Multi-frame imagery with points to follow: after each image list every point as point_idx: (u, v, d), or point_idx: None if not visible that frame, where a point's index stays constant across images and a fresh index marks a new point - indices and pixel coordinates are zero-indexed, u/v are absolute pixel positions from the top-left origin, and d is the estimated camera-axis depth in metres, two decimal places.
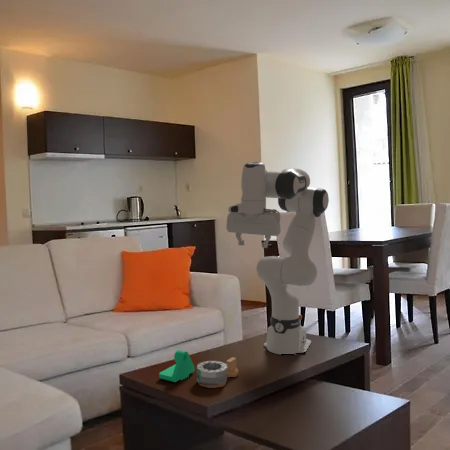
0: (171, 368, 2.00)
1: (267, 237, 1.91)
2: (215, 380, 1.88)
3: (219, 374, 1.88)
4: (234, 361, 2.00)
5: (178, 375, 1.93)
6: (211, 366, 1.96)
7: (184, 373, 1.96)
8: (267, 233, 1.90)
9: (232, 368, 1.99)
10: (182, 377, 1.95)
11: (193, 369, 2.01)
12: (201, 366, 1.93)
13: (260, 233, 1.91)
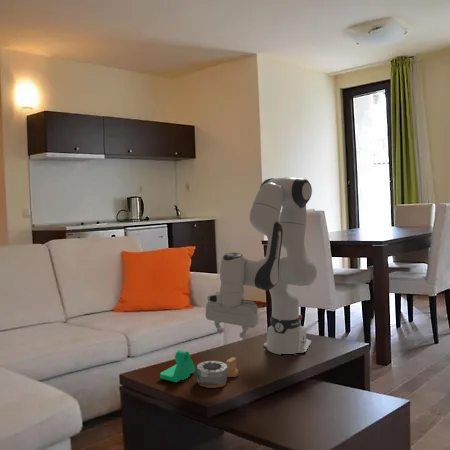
0: (172, 368, 2.00)
1: (245, 328, 1.94)
2: (215, 380, 1.88)
3: (219, 374, 1.88)
4: (234, 361, 2.00)
5: (179, 375, 1.93)
6: (211, 366, 1.96)
7: (185, 374, 1.96)
8: (245, 324, 1.93)
9: (232, 368, 1.99)
10: (183, 377, 1.95)
11: (194, 369, 2.01)
12: (201, 366, 1.93)
13: (238, 324, 1.94)
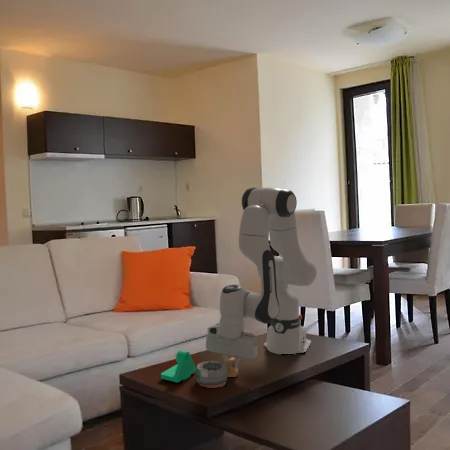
0: (172, 368, 2.00)
1: (237, 358, 1.97)
2: (215, 380, 1.88)
3: (219, 374, 1.88)
4: (234, 361, 2.00)
5: (180, 376, 1.93)
6: (211, 366, 1.96)
7: (186, 374, 1.96)
8: (244, 357, 1.95)
9: (232, 368, 1.99)
10: (184, 377, 1.95)
11: (195, 369, 2.01)
12: (201, 366, 1.93)
13: (238, 356, 1.96)
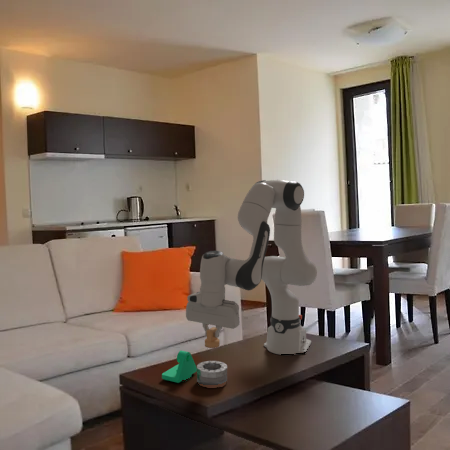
0: (173, 369, 1.99)
1: (218, 327, 1.89)
2: (215, 380, 1.88)
3: (219, 374, 1.88)
4: None
5: (181, 376, 1.92)
6: (211, 366, 1.96)
7: (187, 374, 1.96)
8: (226, 325, 1.86)
9: (213, 338, 1.90)
10: (185, 378, 1.95)
11: (196, 369, 2.01)
12: (201, 366, 1.93)
13: (219, 325, 1.87)
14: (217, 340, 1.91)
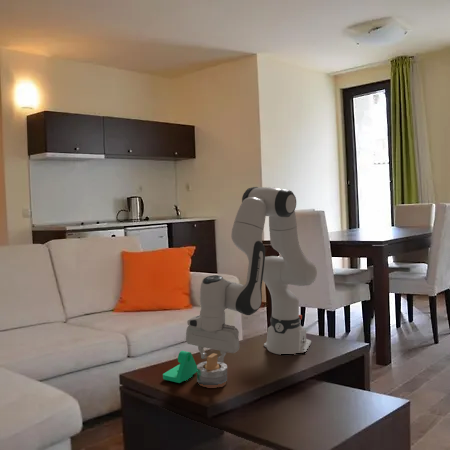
0: (174, 369, 1.99)
1: (222, 353, 1.89)
2: (215, 380, 1.88)
3: (219, 374, 1.88)
4: (215, 357, 1.93)
5: (182, 376, 1.92)
6: None
7: (188, 374, 1.96)
8: (225, 350, 1.87)
9: (213, 364, 1.92)
10: (186, 378, 1.95)
11: (196, 369, 2.01)
12: (201, 366, 1.93)
13: (219, 349, 1.89)
14: (217, 366, 1.92)
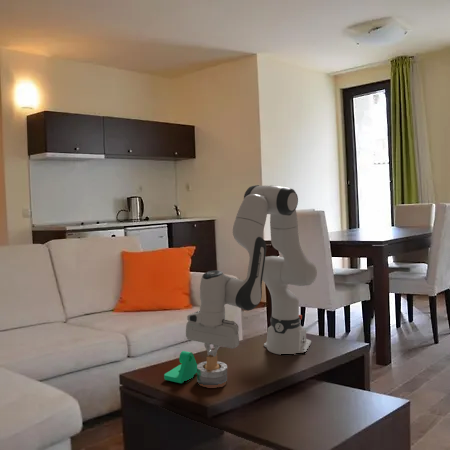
0: (175, 369, 1.99)
1: (216, 346, 1.90)
2: (215, 380, 1.88)
3: (219, 374, 1.88)
4: (215, 357, 1.93)
5: (184, 376, 1.92)
6: None
7: (189, 374, 1.95)
8: (225, 345, 1.87)
9: (213, 364, 1.92)
10: (187, 378, 1.94)
11: None
12: (201, 366, 1.93)
13: (218, 344, 1.88)
14: (217, 366, 1.92)
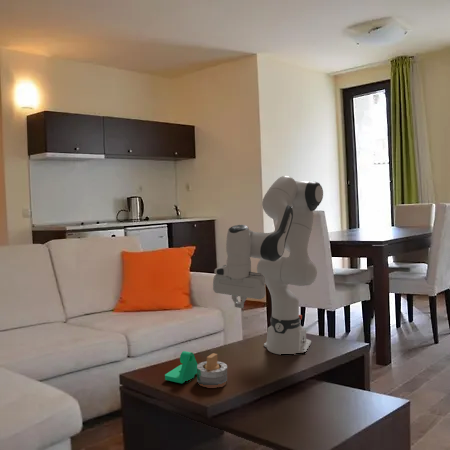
0: (176, 369, 1.99)
1: (243, 298, 1.96)
2: (215, 380, 1.88)
3: (219, 374, 1.88)
4: (215, 357, 1.93)
5: (184, 377, 1.92)
6: None
7: (190, 375, 1.95)
8: (252, 296, 1.93)
9: (213, 364, 1.92)
10: (188, 378, 1.94)
11: None
12: (201, 366, 1.93)
13: (246, 296, 1.95)
14: (217, 366, 1.92)
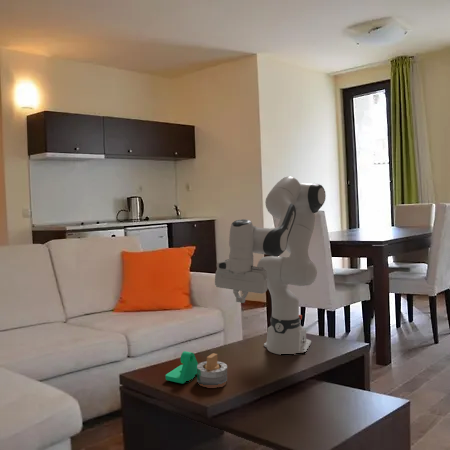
0: (176, 369, 1.99)
1: (244, 293, 1.96)
2: (215, 380, 1.88)
3: (219, 374, 1.88)
4: (215, 357, 1.93)
5: (185, 377, 1.92)
6: None
7: (191, 375, 1.95)
8: (254, 290, 1.93)
9: (213, 364, 1.92)
10: (189, 378, 1.94)
11: None
12: (201, 366, 1.93)
13: (247, 290, 1.95)
14: (217, 366, 1.92)
